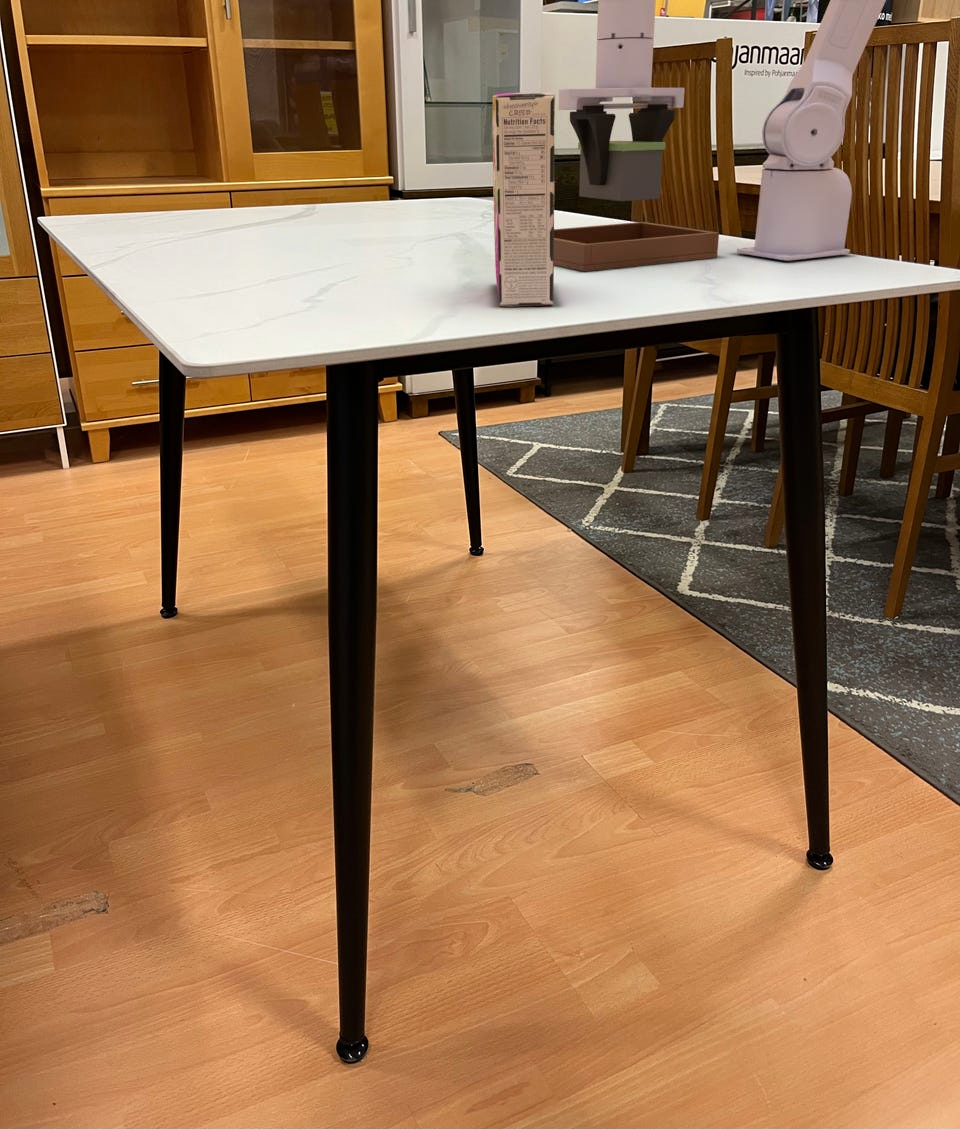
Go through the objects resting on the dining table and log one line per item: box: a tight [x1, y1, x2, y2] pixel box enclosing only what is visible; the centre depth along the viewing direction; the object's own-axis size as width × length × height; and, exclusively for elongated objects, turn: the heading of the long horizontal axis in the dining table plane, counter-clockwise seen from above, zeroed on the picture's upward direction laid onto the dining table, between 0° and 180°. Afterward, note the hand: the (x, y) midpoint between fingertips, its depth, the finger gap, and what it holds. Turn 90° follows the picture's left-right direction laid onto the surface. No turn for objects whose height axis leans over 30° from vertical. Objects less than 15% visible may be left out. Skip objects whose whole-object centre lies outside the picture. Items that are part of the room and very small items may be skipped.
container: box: [577, 140, 667, 202], centre depth 103 cm, size 5×8×6 cm, turn 28°
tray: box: [554, 221, 720, 273], centre depth 107 cm, size 18×14×3 cm
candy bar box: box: [492, 92, 556, 308], centre depth 83 cm, size 11×5×16 cm, turn 0°
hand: (619, 183), depth 103 cm, fingers closed on container, 5 cm apart
